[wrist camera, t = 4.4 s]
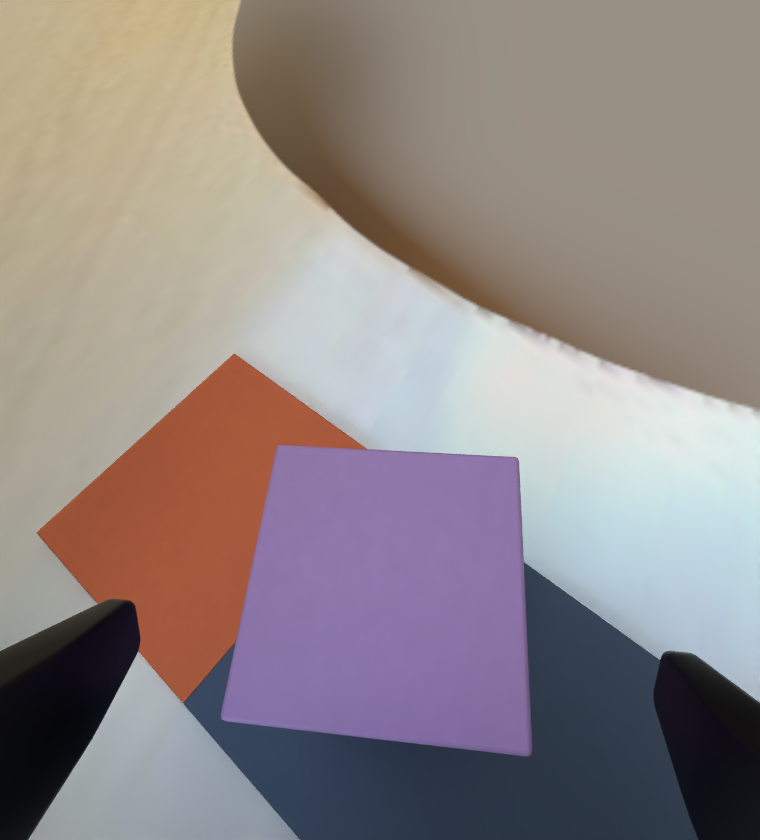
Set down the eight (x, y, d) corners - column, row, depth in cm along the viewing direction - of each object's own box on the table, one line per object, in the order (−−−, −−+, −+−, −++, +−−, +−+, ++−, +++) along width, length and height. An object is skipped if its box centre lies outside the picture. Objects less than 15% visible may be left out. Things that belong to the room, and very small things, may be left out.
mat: (870, 815, 13) (879, 818, 13) (715, 1315, 10) (723, 1332, 10) (236, 357, 22) (234, 353, 22) (41, 534, 19) (36, 532, 19)
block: (477, 719, 15) (534, 758, 7) (316, 702, 15) (217, 721, 8) (477, 554, 17) (519, 455, 10) (337, 544, 18) (275, 442, 10)
